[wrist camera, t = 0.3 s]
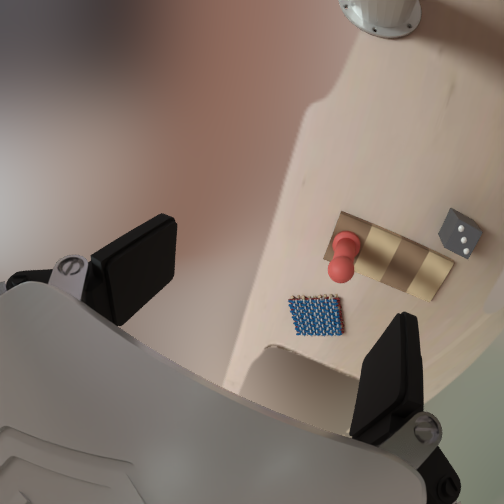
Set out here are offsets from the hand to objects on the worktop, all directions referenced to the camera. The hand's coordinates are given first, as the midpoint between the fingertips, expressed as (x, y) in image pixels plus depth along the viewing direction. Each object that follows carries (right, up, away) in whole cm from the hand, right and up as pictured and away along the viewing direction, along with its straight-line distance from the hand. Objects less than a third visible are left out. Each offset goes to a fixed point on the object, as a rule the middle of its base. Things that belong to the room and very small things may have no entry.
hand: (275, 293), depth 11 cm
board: (+23, +1, +33) cm, 40 cm away
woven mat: (+13, -11, +46) cm, 48 cm away
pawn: (+15, +3, +34) cm, 37 cm away
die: (+32, +6, +26) cm, 42 cm away
